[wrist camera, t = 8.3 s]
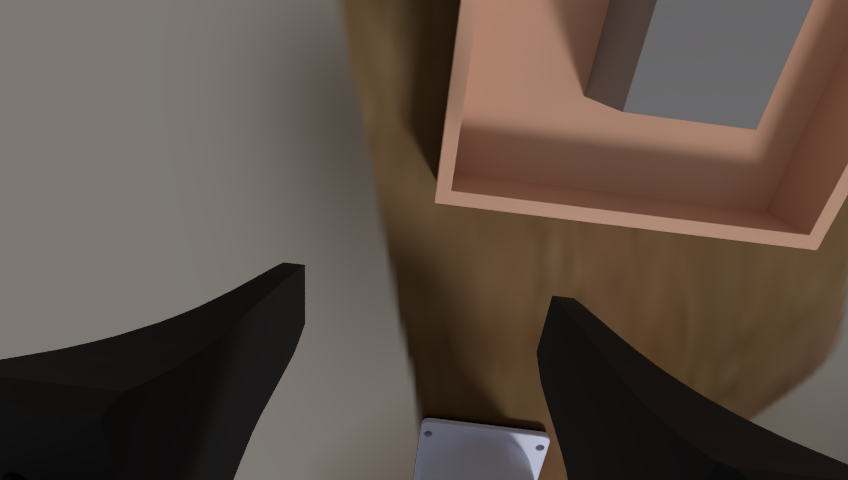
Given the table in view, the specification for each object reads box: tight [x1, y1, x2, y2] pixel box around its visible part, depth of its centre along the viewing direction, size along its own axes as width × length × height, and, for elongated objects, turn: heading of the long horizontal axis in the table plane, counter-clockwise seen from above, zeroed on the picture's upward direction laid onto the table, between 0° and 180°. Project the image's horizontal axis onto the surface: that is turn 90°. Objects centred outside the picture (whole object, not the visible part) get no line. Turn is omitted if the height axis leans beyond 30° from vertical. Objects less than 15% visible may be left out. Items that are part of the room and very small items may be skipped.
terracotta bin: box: [435, 0, 848, 250], centre depth 16 cm, size 14×16×3 cm
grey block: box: [584, 0, 814, 130], centre depth 15 cm, size 4×4×4 cm
